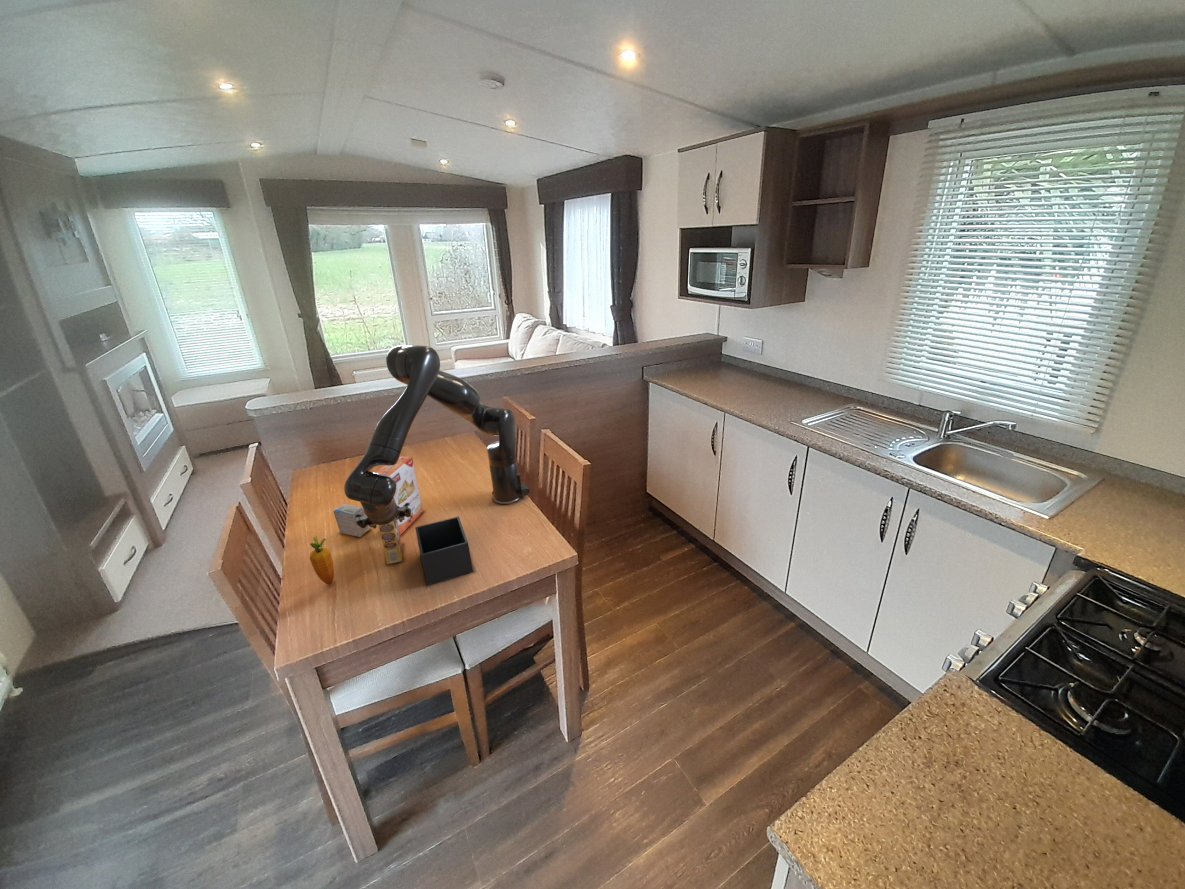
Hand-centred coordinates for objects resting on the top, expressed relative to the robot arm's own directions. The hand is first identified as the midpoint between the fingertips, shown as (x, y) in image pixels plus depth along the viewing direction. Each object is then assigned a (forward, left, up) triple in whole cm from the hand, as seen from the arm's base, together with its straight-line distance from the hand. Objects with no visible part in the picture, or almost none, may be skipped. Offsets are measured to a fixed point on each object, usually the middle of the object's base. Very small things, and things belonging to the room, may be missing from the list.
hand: (387, 521), depth 136 cm
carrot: (+17, +8, -11) cm, 21 cm away
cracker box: (-4, -14, -11) cm, 18 cm away
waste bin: (-13, +13, -10) cm, 21 cm away
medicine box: (+11, -16, -11) cm, 22 cm away
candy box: (0, +2, -11) cm, 11 cm away
